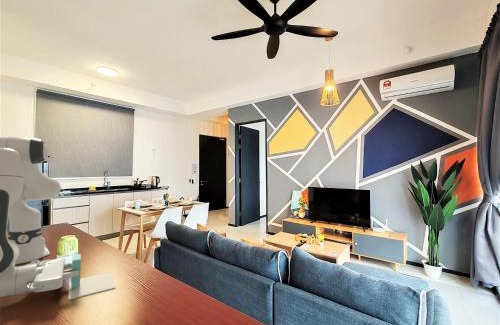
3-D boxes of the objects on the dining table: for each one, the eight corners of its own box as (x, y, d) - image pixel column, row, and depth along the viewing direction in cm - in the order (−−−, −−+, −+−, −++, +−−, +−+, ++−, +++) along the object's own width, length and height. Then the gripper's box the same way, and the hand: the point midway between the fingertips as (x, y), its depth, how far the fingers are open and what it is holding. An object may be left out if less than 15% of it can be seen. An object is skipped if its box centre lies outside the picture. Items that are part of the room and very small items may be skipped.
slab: (71, 281, 91) (72, 255, 91) (79, 279, 92) (80, 254, 92) (70, 288, 86) (71, 260, 86) (79, 286, 87) (80, 259, 87)
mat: (69, 282, 93) (69, 281, 93) (110, 273, 101) (110, 272, 101) (68, 300, 81) (68, 298, 81) (115, 288, 89) (115, 287, 89)
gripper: (24, 281, 73) (79, 270, 81) (34, 259, 90) (79, 251, 98) (23, 301, 73) (79, 288, 81) (33, 275, 90) (78, 267, 98)
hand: (79, 268), depth 90 cm, fingers closed on slab, 6 cm apart
